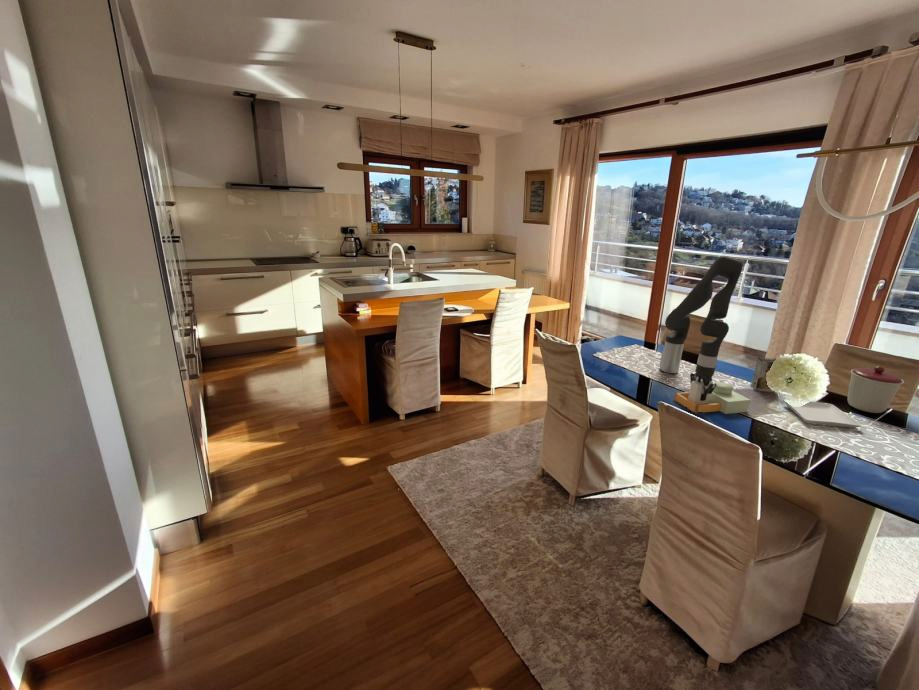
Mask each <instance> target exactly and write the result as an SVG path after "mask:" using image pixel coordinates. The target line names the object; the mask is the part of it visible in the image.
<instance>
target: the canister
mask: <svg viewBox="0 0 919 690" xmlns="http://www.w3.org/2000/svg"><path fill="white" fill-rule="evenodd" d="M850 373H851V376H850V381H849V386H848V392H847V403H848V405H849V406H850V407H852V408H854V409H856V410H859V411H862V412H867V413H871V414H882V413H884V412H885V411H886V410H887V409H888V408H889V406H890V404H891V403H892V401H893V400H894V398H895V397H896V394H897V393H898V391H899V389H900V387H901V386H902V385H903V384H904V383H905V381H904V379H902V378H901V377H900V376H898V375H897V374H894V373H891V372H889V371H886V370H885V368H884V367H883V366H881V365H876V366H874V367H873V368H869V367H857V368H852V369H851V370H850Z"/></svg>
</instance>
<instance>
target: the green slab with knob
mask: <svg viewBox="0 0 919 690" xmlns="http://www.w3.org/2000/svg"><path fill="white" fill-rule="evenodd" d="M712 382H713V383H716V384H717V385H716V387H715V389H714V390H713V392H712V393H711V394H710V398H709V403H708V404H698V405H696V404H695V403H693V402H692V401H690V400H688V396H689V391H685V392H684V391H683V392H675V394H674V398H673V400H674V401H675V402H677V403H679V404H680V405H682V406H683V407H685V408H686V407H687V408H686V409H688V410H690V411H691V412H693V413H694V412H695V413H694V414H698V413H697V412H703V413H711V412H721V413H722V414H725V415H727V414H728V415H729V414H738V413H748V410H749V407H750V403H751V399H750V398H748V397H746V396H744V395H742V394H740V393H738V392H737V391H734V390H733V389H734V387H733V386H732V385H731V384H729V383H727V382H719V381H715V382H714V381H712Z"/></svg>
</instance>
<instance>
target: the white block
mask: <svg viewBox="0 0 919 690" xmlns="http://www.w3.org/2000/svg"><path fill="white" fill-rule="evenodd" d="M707 386H708V385H707ZM707 386H704V387H707ZM705 391H706V389H705ZM688 392H689V396H688V400H690V401H692V402H693V403H695V404H696V405H703V404H708V403H709V398H710V394H707V396H706V400H705V401H701V400H700V398H701V393H702V384H701V383H700V382H697V381H692V382H691V381H690V387H689V391H688Z"/></svg>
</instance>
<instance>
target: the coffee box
mask: <svg viewBox="0 0 919 690" xmlns="http://www.w3.org/2000/svg"><path fill="white" fill-rule="evenodd" d="M776 359H777V358H775V357H774V358H773V357H762V356H761V357H760V356H758V357H757V360H756V364H755V368H754V372H753V375H752V376H753V377H752V380H751V384H750V386H751V387H752V389H753V390H754V391H759V392H767V393H768V392H769V393H774V392H773V391H772V390H771V389H770V388H769V387H768V385H767V381H766V373H767V372H768V371H769V370H770V368H771V366H772V364H773V362H774V361H775V360H776Z"/></svg>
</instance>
